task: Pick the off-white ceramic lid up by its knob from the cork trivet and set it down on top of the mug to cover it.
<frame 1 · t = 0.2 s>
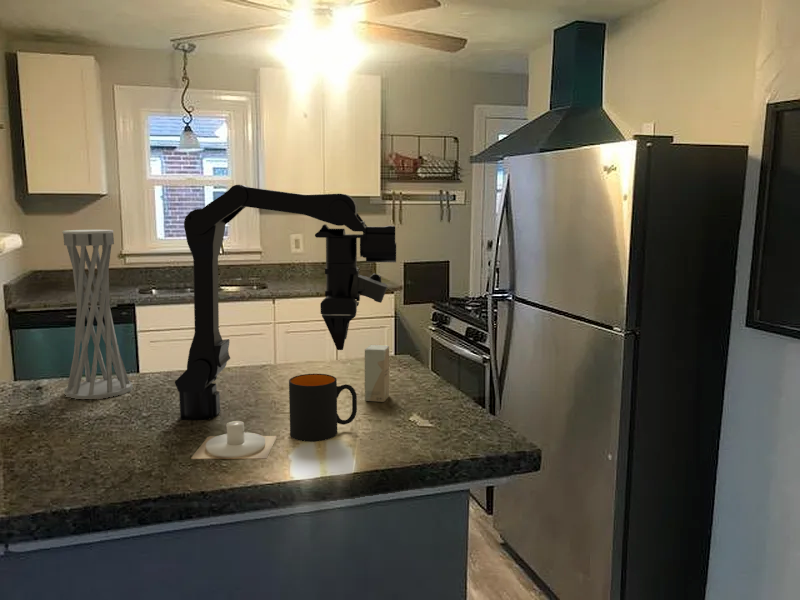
hand: (341, 344, 123), 14 cm above the counter, fingers open, 9 cm apart
trivet: (236, 450, 108), on the counter
mug: (324, 436, 116), on the counter
lid: (236, 446, 108), point 1 cm above the counter, touching trivet
vase: (99, 391, 142), on the counter
box: (377, 399, 138), on the counter
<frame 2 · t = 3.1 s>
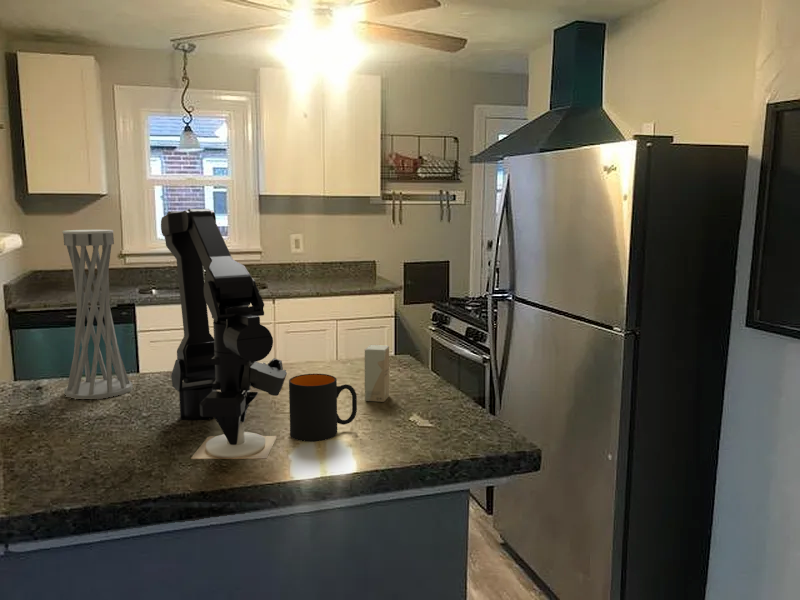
hand: (235, 440, 108), 2 cm above the counter, fingers closed on lid, 3 cm apart
lid: (236, 446, 108), point 1 cm above the counter, touching gripper, trivet
everything else where it was.
when the fingers open (13 cm above the counter, at t = 5.8 s): lid drops 2 cm, resting on mug.
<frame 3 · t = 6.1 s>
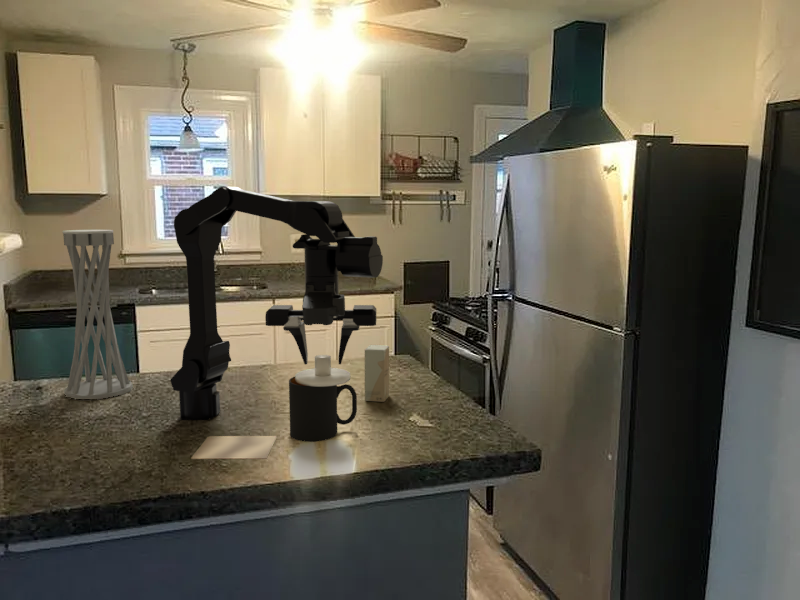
hand: (323, 363, 114), 13 cm above the counter, fingers open, 6 cm apart
mug: (324, 436, 116), on the counter, touching lid
lid: (323, 378, 114), point 10 cm above the counter, touching mug
everything else where it was.
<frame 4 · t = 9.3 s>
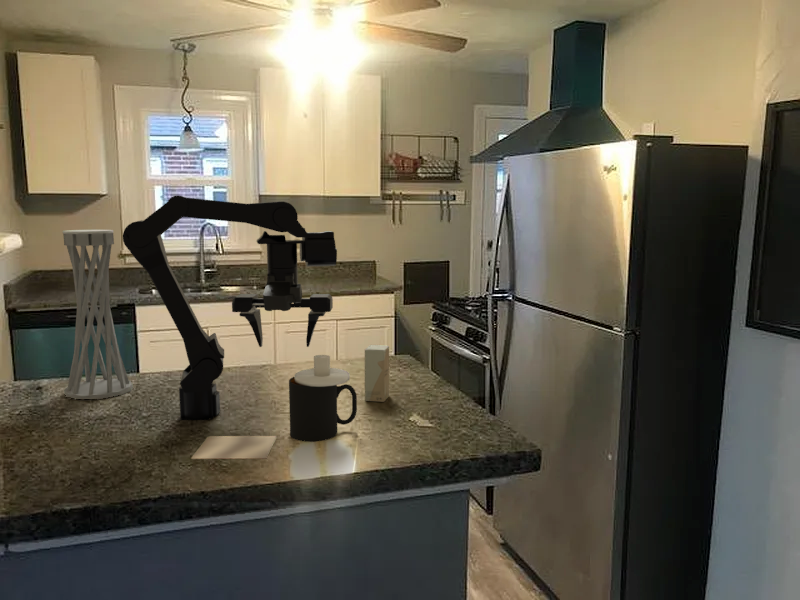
hand: (284, 346, 127), 13 cm above the counter, fingers open, 9 cm apart
nothing on the counter moved.
at the end: lid inside the target area on the mug (0.2 cm from its centre), point 10.5 cm above the mug's base; the gripper is holding nothing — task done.
